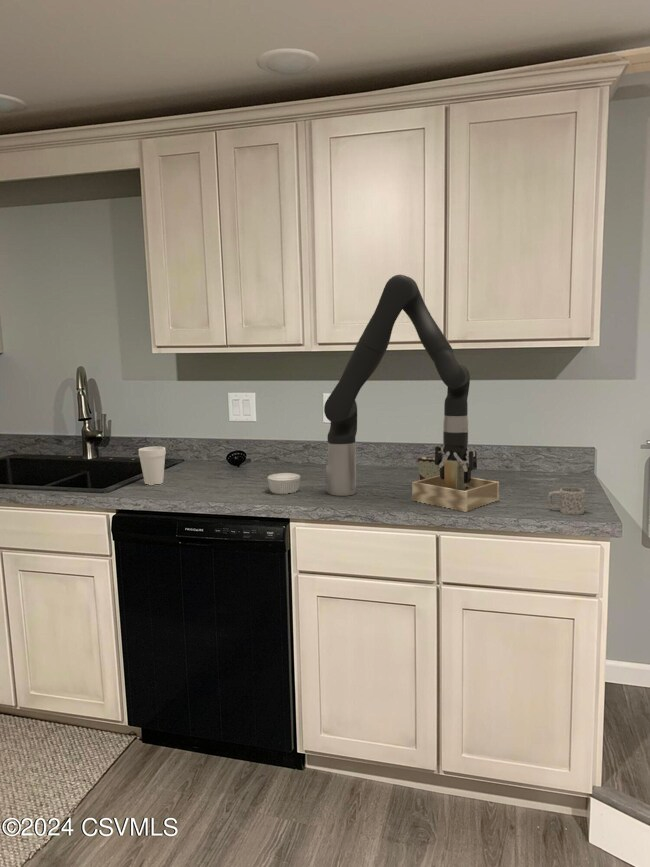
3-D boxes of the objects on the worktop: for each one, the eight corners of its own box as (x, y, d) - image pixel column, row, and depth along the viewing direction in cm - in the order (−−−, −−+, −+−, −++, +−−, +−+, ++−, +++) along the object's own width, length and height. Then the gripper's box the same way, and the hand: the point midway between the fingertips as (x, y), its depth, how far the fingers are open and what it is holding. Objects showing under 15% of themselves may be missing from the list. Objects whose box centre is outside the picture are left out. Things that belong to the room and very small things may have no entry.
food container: (456, 485, 232) (456, 457, 230) (446, 489, 227) (446, 460, 226) (425, 481, 240) (425, 453, 238) (416, 484, 235) (416, 456, 234)
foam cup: (172, 482, 246) (170, 447, 244) (152, 487, 239) (150, 451, 237) (155, 479, 252) (153, 445, 250) (135, 484, 244) (133, 449, 242)
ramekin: (283, 497, 221) (282, 481, 221) (261, 492, 229) (260, 476, 228) (307, 490, 229) (307, 475, 229) (285, 486, 237) (284, 471, 236)
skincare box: (454, 494, 215) (454, 457, 213) (466, 496, 212) (466, 458, 210) (443, 498, 210) (443, 460, 208) (455, 500, 207) (456, 461, 205)
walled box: (412, 500, 212) (411, 482, 211) (446, 491, 224) (446, 473, 223) (465, 512, 198) (465, 492, 197) (498, 500, 210) (499, 482, 209)
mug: (583, 509, 198) (584, 487, 197) (584, 515, 192) (585, 492, 191) (547, 507, 201) (548, 485, 200) (547, 513, 195) (548, 490, 194)
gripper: (429, 429, 210) (429, 479, 213) (468, 433, 200) (467, 486, 202) (444, 426, 215) (443, 476, 218) (482, 430, 205) (481, 482, 208)
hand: (455, 481), depth 210 cm, fingers open, 8 cm apart
